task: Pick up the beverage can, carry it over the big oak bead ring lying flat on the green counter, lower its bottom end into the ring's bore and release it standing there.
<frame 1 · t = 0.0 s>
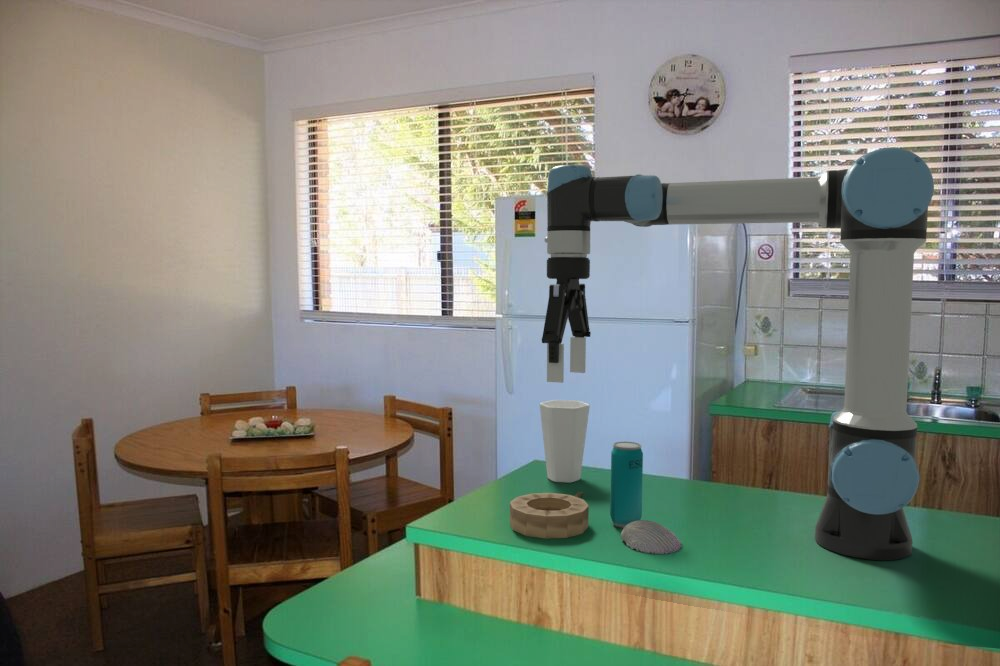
hand: (566, 377, 136), 28 cm above the breakfast bar, fingers open, 13 cm apart
beverage can: (625, 525, 143), on the breakfast bar
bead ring: (548, 525, 142), on the breakfast bar
brown stick: (570, 503, 155), on the breakfast bar
seashell: (650, 546, 133), on the breakfast bar
cup: (563, 479, 174), on the breakfast bar
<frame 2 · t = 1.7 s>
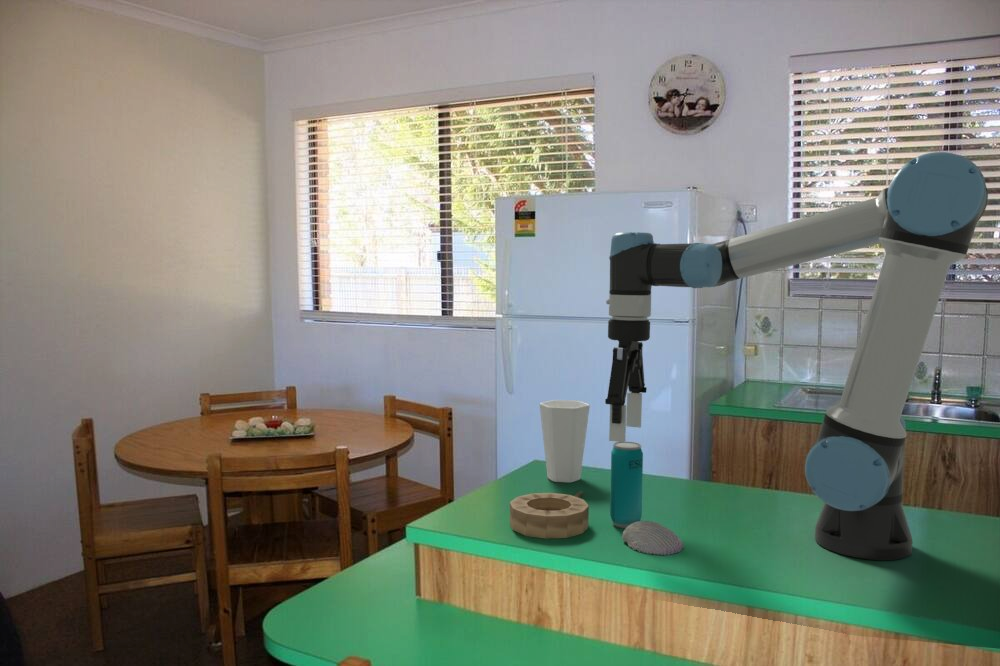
hand: (625, 433, 141), 17 cm above the breakfast bar, fingers open, 13 cm apart
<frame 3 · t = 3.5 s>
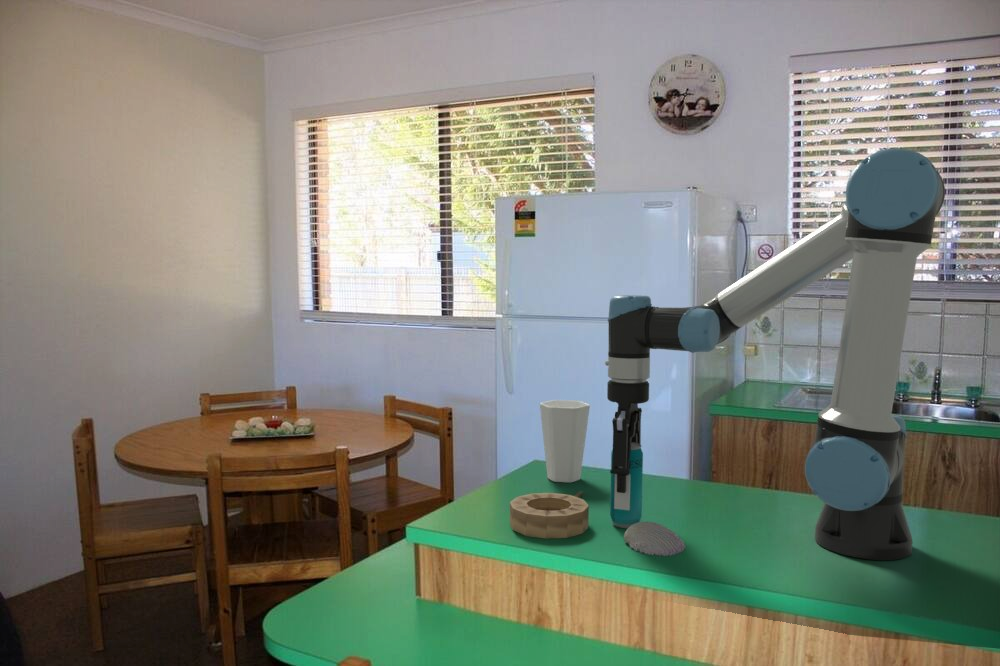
hand: (626, 503, 142), 4 cm above the breakfast bar, fingers closed on beverage can, 6 cm apart
beverage can: (625, 525, 143), on the breakfast bar, touching gripper
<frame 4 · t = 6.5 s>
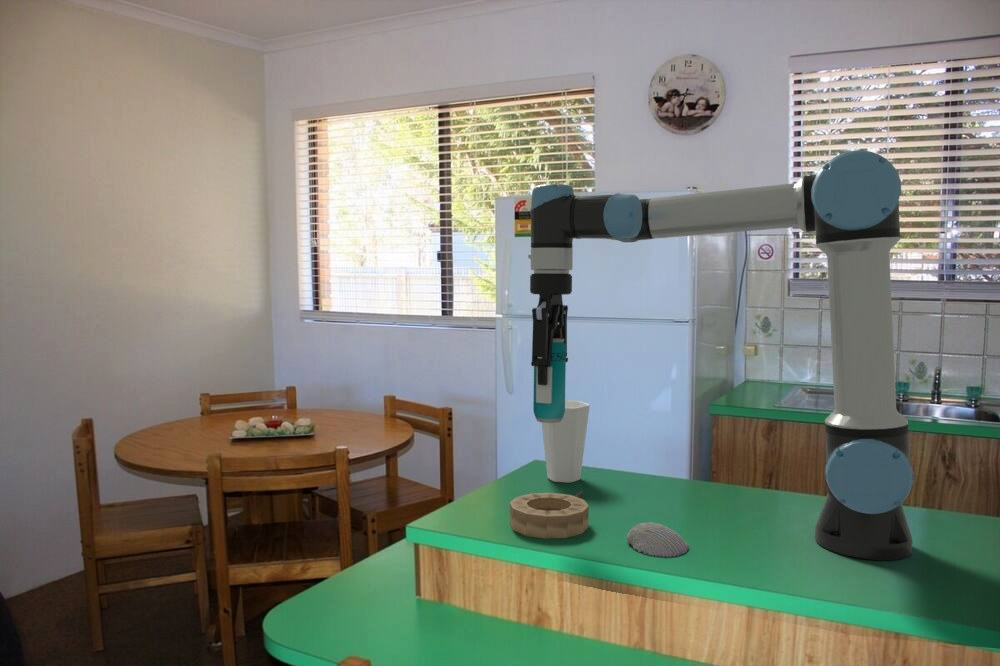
hand: (549, 399, 140), 23 cm above the breakfast bar, fingers closed on beverage can, 6 cm apart
beverage can: (549, 421, 140), point 19 cm above the breakfast bar, touching gripper
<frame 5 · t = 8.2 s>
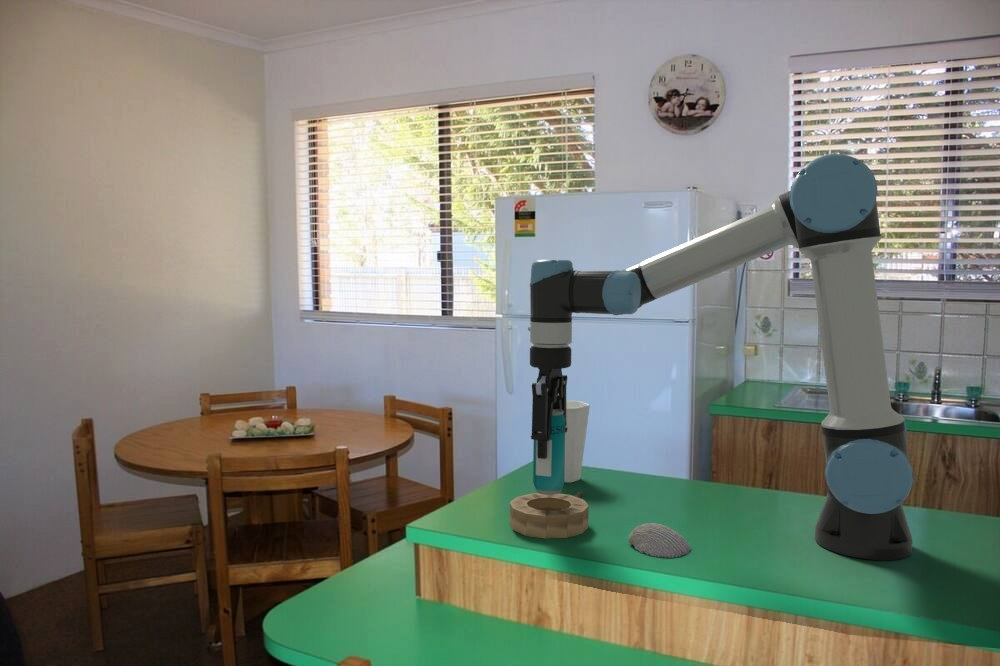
hand: (549, 470, 141), 10 cm above the breakfast bar, fingers closed on beverage can, 6 cm apart
beverage can: (548, 492, 141), point 6 cm above the breakfast bar, touching gripper
when the fingers open (5 cm above the breakfast bar, at t = 9.5 s): beverage can drops 1 cm, resting in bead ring.
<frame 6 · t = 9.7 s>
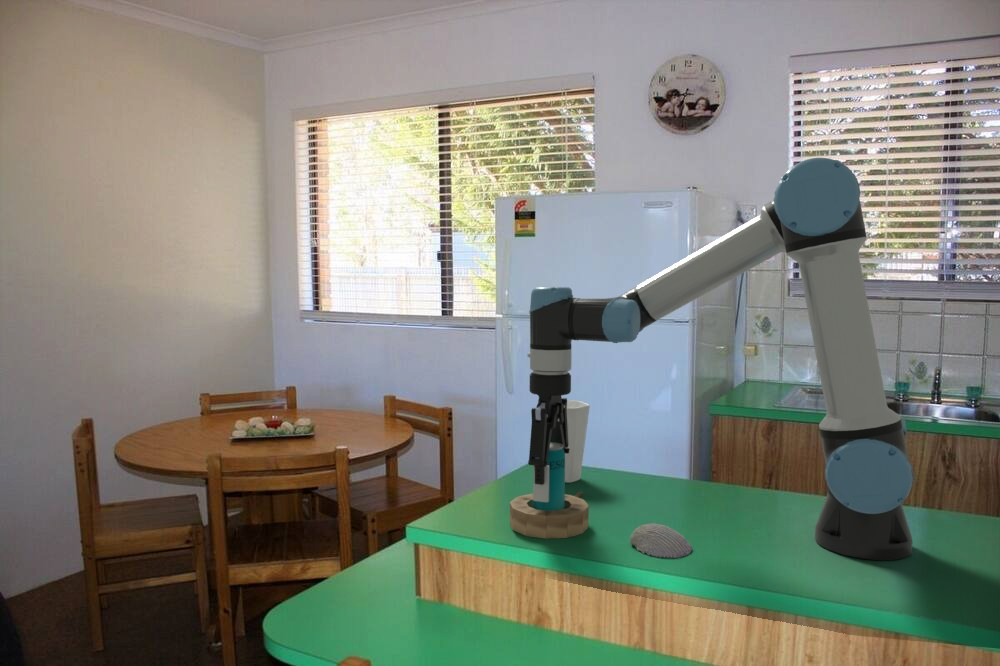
hand: (549, 494, 141), 6 cm above the breakfast bar, fingers open, 8 cm apart
beverage can: (548, 526, 142), resting in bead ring
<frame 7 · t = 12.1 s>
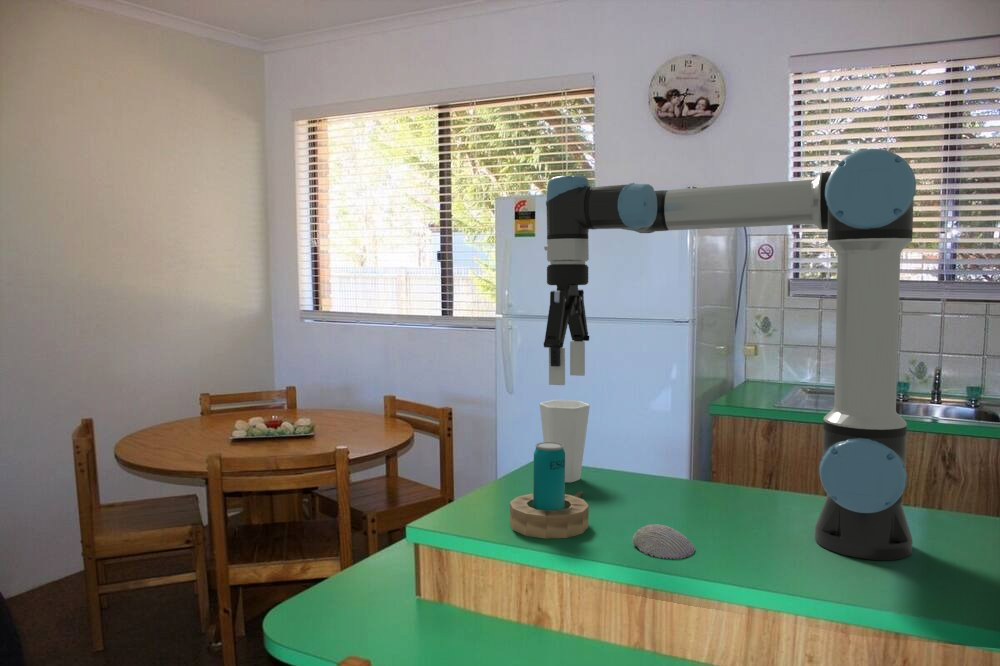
hand: (567, 380, 141), 27 cm above the breakfast bar, fingers open, 13 cm apart
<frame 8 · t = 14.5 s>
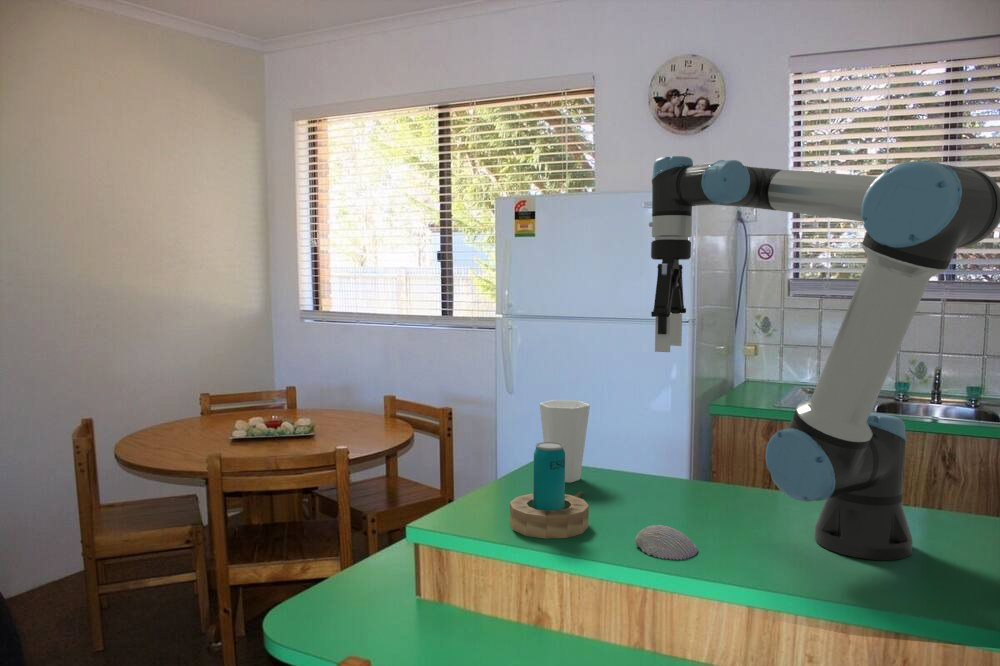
hand: (668, 348, 150), 32 cm above the breakfast bar, fingers open, 13 cm apart
at the end: beverage can 0.0 cm from the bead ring (horizontally); beverage can resting in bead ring; beverage can tilted 0° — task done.
